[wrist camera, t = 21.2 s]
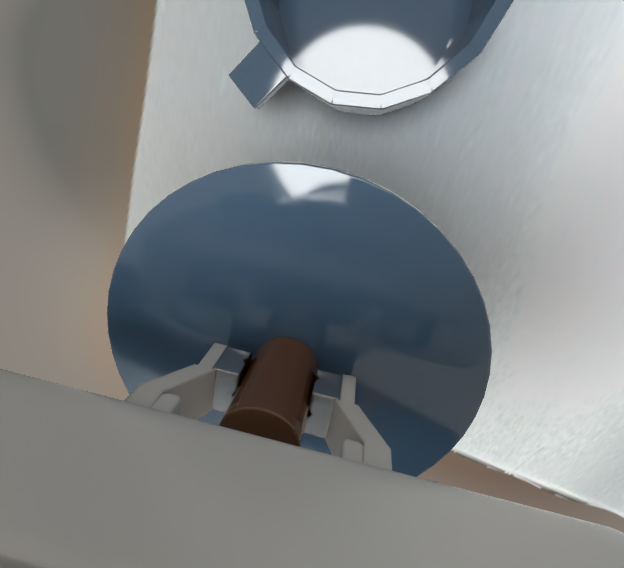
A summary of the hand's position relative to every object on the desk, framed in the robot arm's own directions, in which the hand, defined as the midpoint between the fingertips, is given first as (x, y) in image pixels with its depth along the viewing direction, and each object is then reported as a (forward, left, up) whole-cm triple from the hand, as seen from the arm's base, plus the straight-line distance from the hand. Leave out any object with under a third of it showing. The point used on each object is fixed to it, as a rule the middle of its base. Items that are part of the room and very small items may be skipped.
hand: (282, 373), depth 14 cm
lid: (0, 0, -1) cm, 1 cm away
